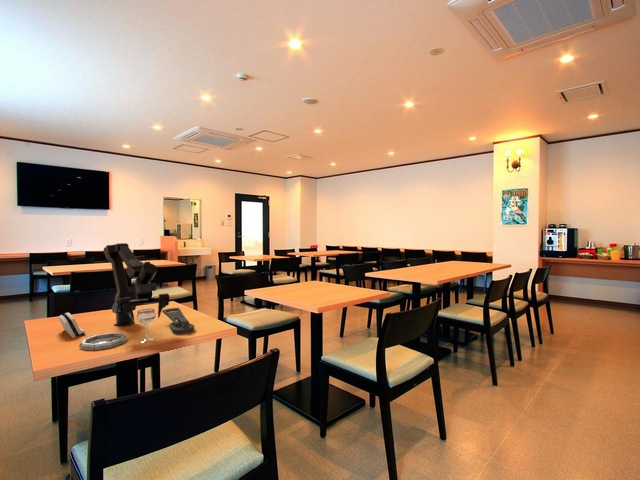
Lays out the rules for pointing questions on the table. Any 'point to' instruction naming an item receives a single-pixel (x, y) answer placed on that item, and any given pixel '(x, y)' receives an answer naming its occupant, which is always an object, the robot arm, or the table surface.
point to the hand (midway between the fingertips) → (146, 319)
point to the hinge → (70, 325)
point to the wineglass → (146, 320)
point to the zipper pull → (178, 321)
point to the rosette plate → (103, 341)
